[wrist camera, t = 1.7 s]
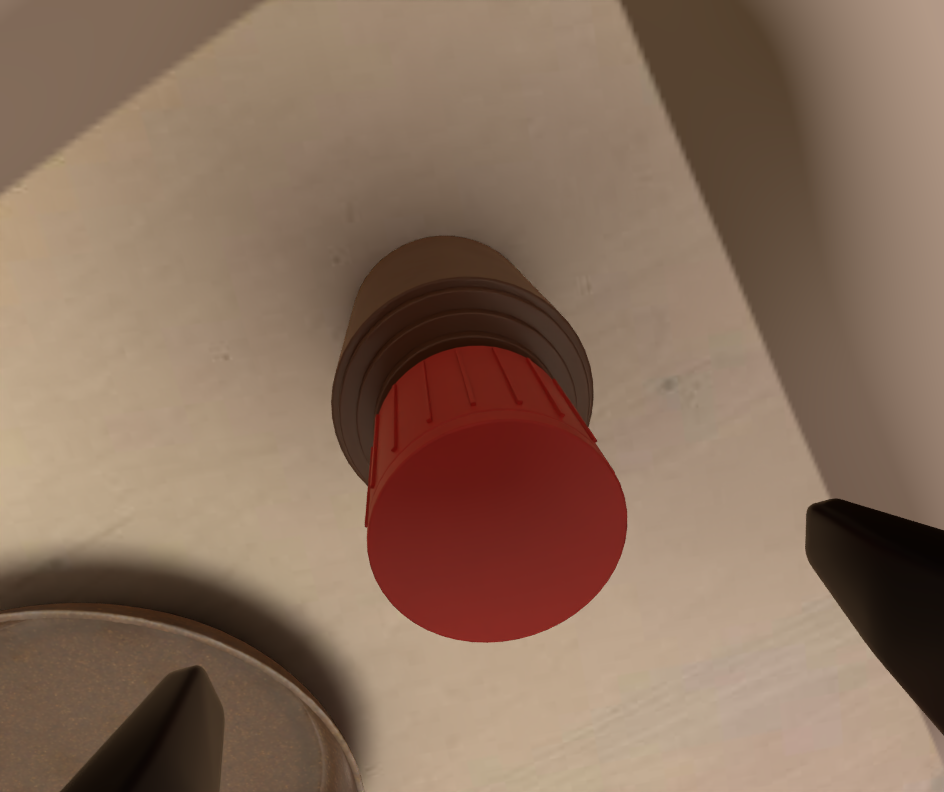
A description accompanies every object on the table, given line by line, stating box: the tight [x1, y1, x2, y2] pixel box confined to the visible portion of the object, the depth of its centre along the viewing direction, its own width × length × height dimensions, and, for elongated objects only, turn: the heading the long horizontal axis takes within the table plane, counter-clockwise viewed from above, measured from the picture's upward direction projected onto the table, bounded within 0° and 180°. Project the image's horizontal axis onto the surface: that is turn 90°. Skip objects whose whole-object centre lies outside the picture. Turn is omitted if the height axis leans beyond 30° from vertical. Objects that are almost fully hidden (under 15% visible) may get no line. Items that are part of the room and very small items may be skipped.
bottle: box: [331, 236, 593, 486], centre depth 16 cm, size 6×6×12 cm
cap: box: [365, 346, 627, 643], centre depth 12 cm, size 4×4×4 cm
